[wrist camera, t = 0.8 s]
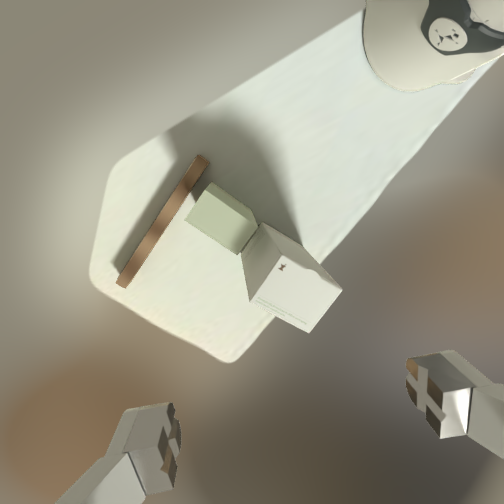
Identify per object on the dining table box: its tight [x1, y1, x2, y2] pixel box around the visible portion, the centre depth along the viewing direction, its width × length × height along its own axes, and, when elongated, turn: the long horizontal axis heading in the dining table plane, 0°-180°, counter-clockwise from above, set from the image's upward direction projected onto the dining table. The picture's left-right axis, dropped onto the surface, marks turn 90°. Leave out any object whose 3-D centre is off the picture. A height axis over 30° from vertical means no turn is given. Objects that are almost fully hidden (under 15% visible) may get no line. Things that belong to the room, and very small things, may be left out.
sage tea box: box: [185, 182, 258, 255], centre depth 36 cm, size 7×4×11 cm, turn 54°
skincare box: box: [241, 222, 342, 333], centre depth 37 cm, size 8×7×16 cm
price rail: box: [116, 155, 210, 288], centre depth 40 cm, size 22×2×2 cm, turn 144°
